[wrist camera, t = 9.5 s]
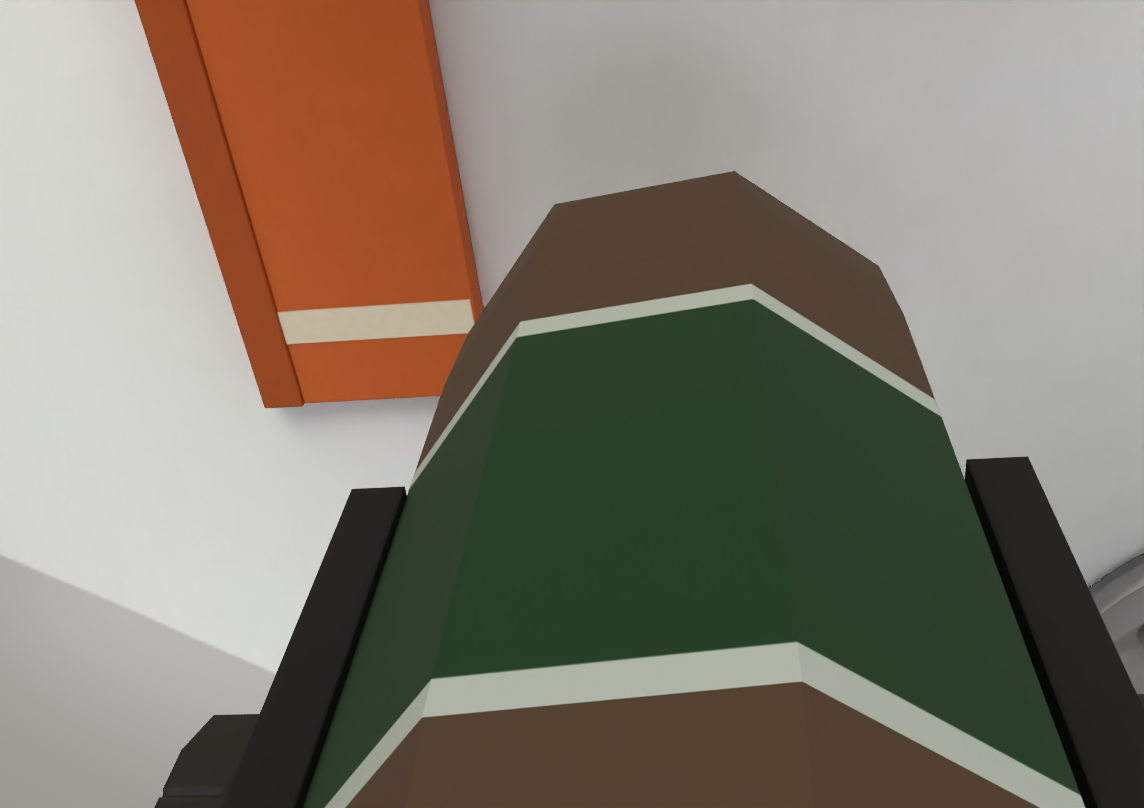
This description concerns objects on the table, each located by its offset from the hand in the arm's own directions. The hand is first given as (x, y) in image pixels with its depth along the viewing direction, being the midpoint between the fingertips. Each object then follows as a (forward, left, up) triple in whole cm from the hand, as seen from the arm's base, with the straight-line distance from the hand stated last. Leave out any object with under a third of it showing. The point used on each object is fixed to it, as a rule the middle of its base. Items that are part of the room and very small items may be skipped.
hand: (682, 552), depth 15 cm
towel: (+1, +11, -20) cm, 23 cm away
